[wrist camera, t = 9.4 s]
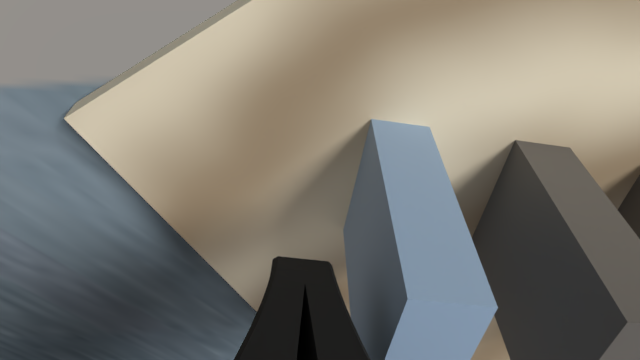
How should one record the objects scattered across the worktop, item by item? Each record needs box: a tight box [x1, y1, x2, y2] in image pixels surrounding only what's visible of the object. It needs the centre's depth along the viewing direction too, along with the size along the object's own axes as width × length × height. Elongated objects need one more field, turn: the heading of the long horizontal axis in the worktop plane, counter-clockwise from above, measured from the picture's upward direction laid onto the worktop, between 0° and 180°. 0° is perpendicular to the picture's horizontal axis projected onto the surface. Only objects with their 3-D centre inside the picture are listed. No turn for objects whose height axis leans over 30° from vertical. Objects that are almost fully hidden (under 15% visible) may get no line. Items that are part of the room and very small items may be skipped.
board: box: [64, 0, 640, 360], centre depth 18 cm, size 22×26×1 cm
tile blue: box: [343, 119, 498, 360], centre depth 14 cm, size 2×4×7 cm, turn 171°
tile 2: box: [472, 140, 640, 360], centre depth 15 cm, size 2×4×7 cm, turn 171°
